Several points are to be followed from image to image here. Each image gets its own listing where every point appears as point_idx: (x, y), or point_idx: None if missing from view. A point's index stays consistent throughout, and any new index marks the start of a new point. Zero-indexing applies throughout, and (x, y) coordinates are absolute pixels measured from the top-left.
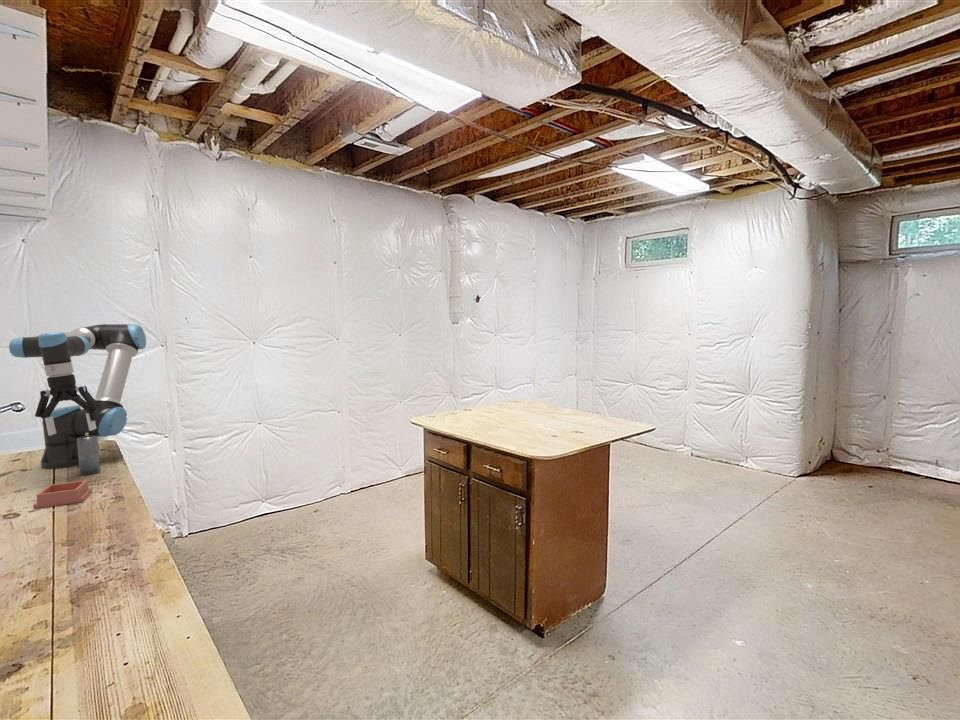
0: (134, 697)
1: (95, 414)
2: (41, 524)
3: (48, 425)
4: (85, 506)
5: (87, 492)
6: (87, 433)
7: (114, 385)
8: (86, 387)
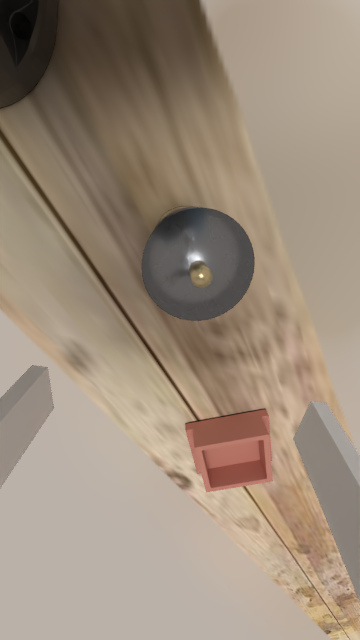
0: None
1: None
2: (245, 510)
3: (5, 478)
4: (280, 468)
5: (269, 435)
6: (209, 283)
7: None
8: None
